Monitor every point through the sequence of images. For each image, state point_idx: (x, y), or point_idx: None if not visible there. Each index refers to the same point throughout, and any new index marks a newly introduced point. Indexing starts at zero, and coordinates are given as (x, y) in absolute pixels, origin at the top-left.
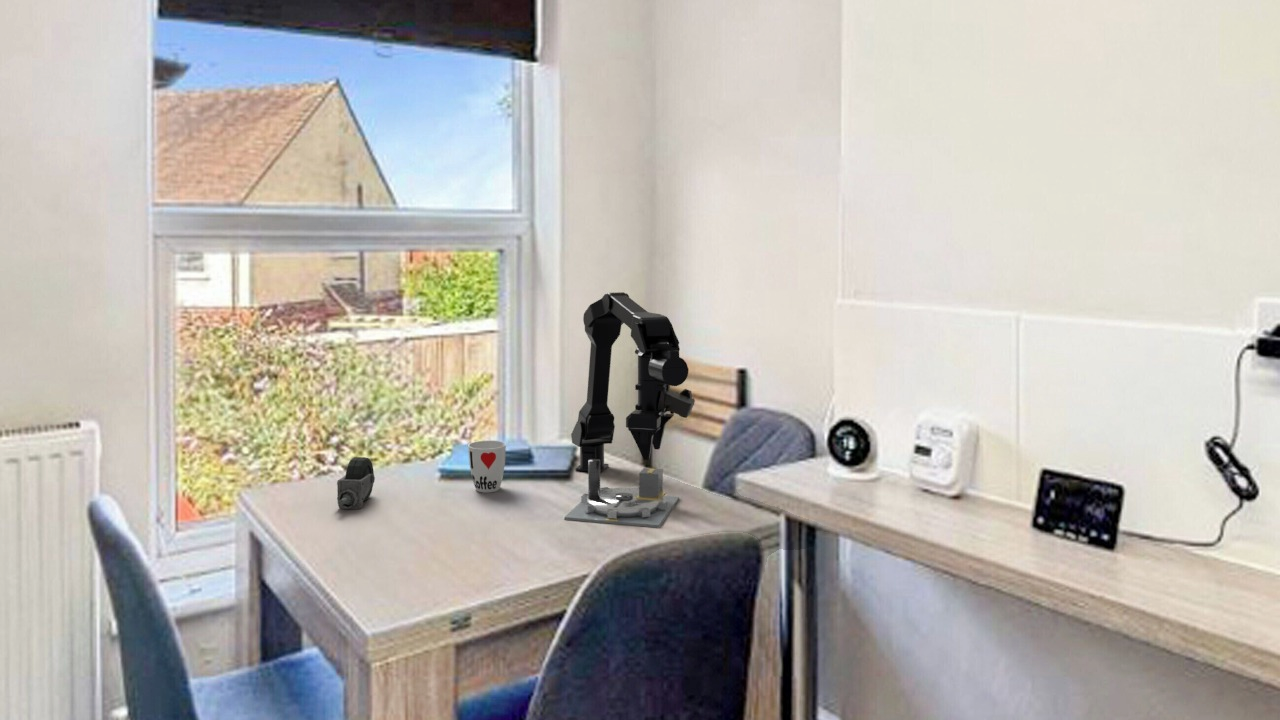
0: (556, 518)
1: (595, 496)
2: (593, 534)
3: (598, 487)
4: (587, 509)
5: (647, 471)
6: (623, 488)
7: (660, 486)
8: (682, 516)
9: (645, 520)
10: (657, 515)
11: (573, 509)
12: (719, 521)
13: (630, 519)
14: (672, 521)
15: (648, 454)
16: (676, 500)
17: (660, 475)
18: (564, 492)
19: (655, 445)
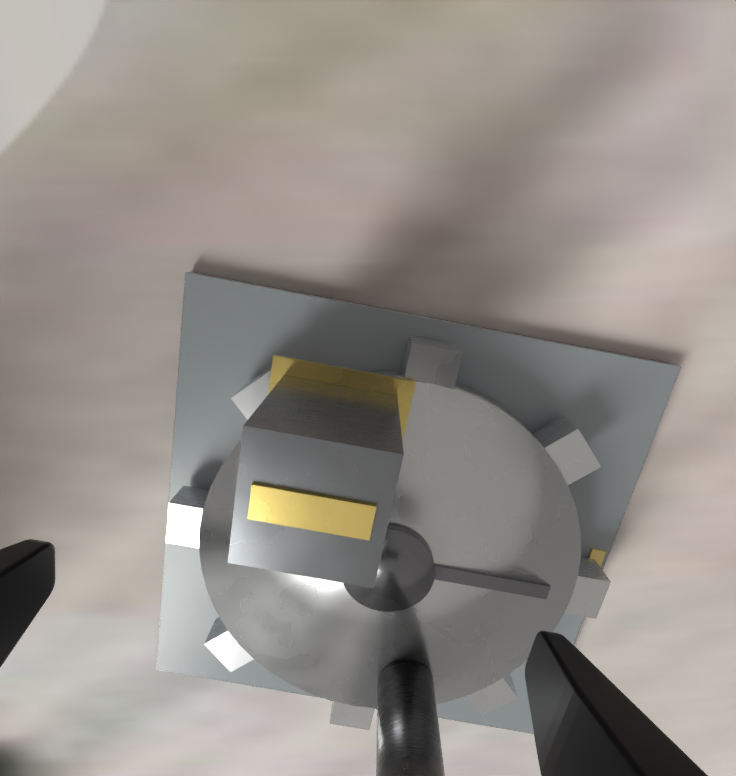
0: (518, 748)
1: (433, 692)
2: (727, 618)
3: (428, 723)
4: (512, 683)
5: (327, 535)
6: (219, 574)
7: (335, 401)
8: (493, 246)
9: (602, 432)
10: (524, 379)
11: (440, 715)
12: (589, 13)
13: (582, 498)
14: (576, 298)
15: (612, 694)
16: (255, 286)
17: (329, 429)
18: (181, 753)
19: (22, 609)
